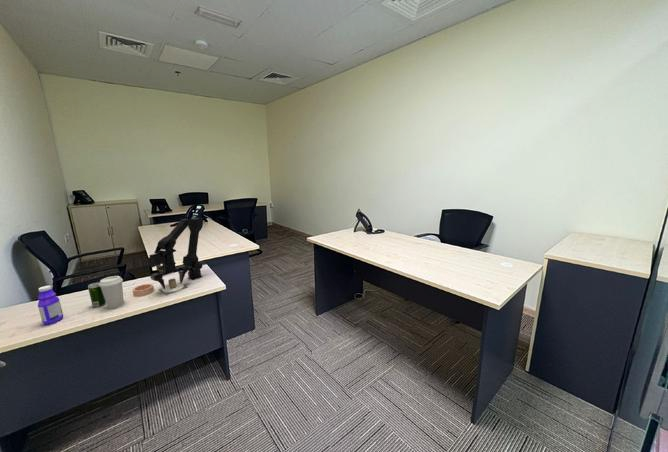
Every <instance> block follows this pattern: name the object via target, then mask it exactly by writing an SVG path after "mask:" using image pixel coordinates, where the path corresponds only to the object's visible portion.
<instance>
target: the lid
mask: <svg viewBox="0 0 668 452" xmlns="http://www.w3.org/2000/svg"><path fill="white" fill-rule="evenodd" d="M184 285H185V284H184V283H180V282H177V281H176V278H169V279H168V285H165V289H162V288H161V289H162V291H163V292H164V293H171V292H174V293H177V292H179V290H180V291H182V290H181V289H182V288H183V287H184ZM176 291H177V292H176ZM164 293H163V294H164Z"/></svg>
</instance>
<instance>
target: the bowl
mask: <svg viewBox="0 0 668 452" xmlns="http://www.w3.org/2000/svg"><path fill="white" fill-rule="evenodd" d="M154 291H155V286H154V284H153V283H144V284H140V285H138V286H136V287H133V289H132V295H133V296H134V297H144V296H148V295H151V294H153V293H154Z"/></svg>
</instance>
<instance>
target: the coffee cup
mask: <svg viewBox="0 0 668 452" xmlns="http://www.w3.org/2000/svg"><path fill="white" fill-rule="evenodd" d="M99 282H100V283H99V286H100V287H101V289H102V292H103V295H104V298H105V300H106V305H107V308H108V309H109V310H111V309H112V310H113V309H116V308H117V309H118V308H120V307H123V305H125V300H124V291H123V282H124V280H123V278H122V277H121V276H119V275H114V276H113V275H112V276H107V277H105V278H102V279H100V281H99Z"/></svg>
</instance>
